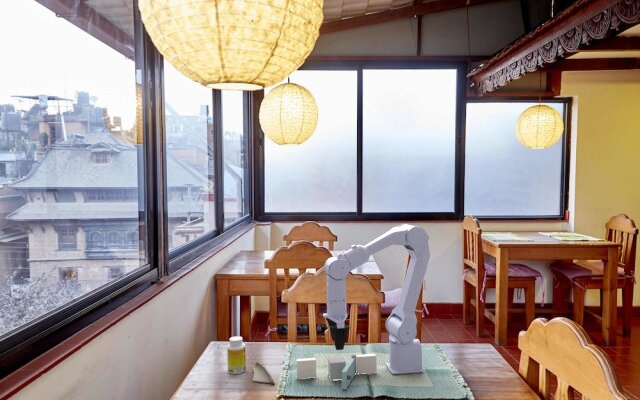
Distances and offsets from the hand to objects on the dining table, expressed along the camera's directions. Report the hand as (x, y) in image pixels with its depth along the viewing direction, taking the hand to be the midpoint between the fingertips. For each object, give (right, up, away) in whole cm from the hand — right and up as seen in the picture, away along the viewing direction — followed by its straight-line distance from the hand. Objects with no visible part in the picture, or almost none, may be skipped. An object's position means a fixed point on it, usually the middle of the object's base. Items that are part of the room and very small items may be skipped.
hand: (337, 344), depth 137 cm
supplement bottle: (-31, -11, +7) cm, 33 cm away
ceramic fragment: (-22, -11, +3) cm, 25 cm away
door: (+4, -10, -3) cm, 11 cm away
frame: (0, -10, +2) cm, 10 cm away
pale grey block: (0, -10, +1) cm, 10 cm away
